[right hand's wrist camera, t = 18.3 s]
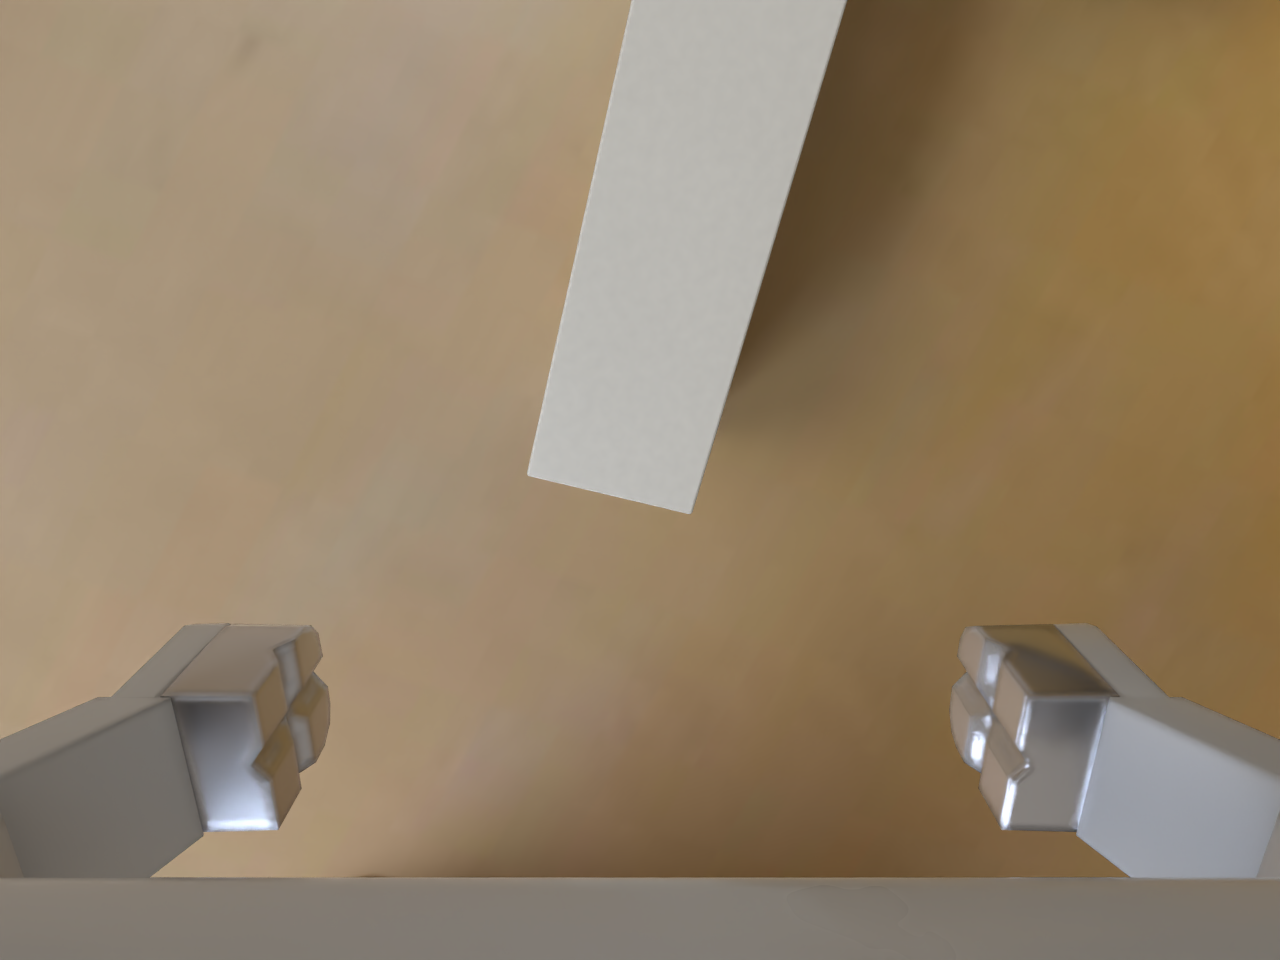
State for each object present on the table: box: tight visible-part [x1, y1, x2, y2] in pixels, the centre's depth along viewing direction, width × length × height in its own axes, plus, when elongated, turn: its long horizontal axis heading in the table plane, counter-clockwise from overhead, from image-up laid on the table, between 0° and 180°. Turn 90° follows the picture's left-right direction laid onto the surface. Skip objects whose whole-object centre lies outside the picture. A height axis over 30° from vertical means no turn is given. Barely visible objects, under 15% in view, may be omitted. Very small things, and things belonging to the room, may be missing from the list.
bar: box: [527, 0, 847, 514], centre depth 27 cm, size 24×6×9 cm, turn 166°
